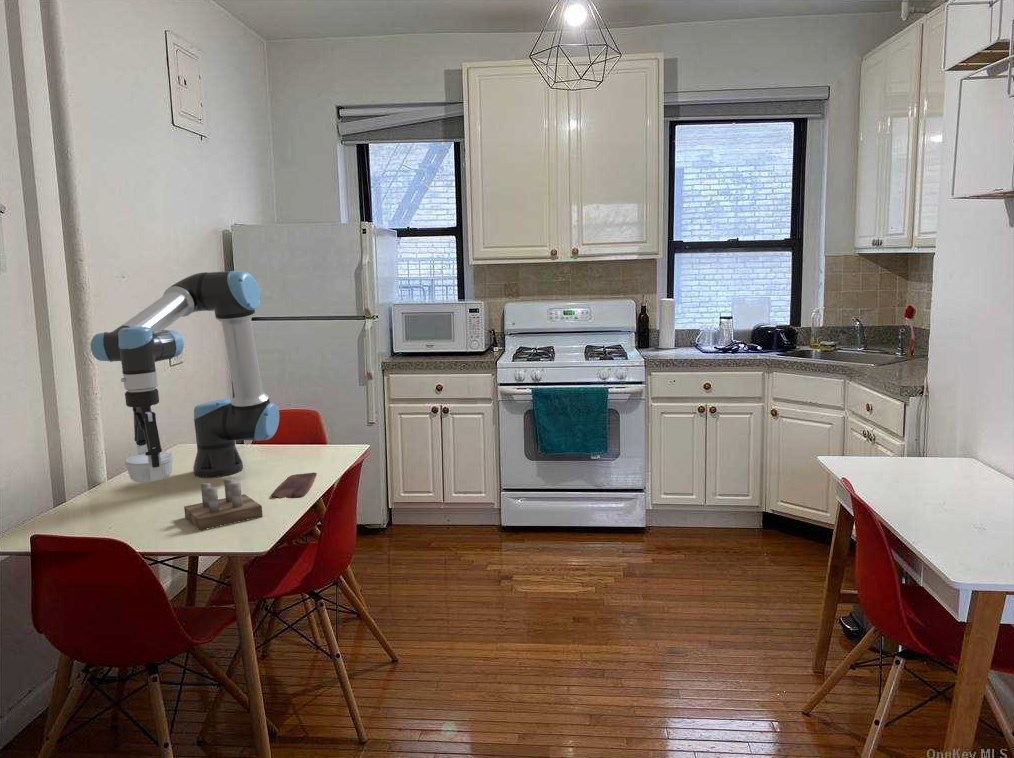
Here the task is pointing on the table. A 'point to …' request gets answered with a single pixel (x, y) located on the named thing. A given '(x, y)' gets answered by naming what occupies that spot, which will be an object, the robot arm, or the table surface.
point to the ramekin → (147, 466)
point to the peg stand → (222, 506)
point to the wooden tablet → (295, 486)
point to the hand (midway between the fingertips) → (151, 474)
